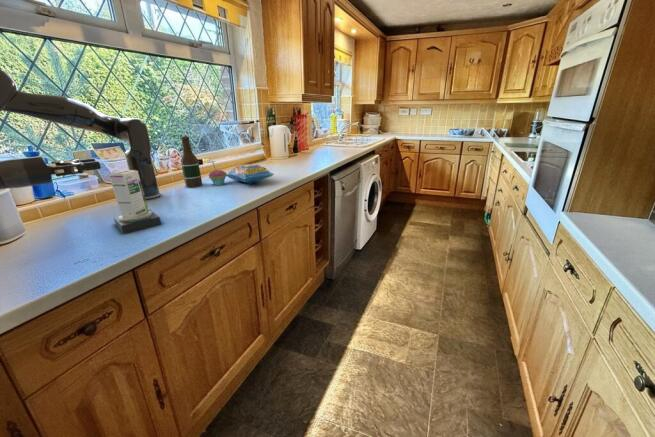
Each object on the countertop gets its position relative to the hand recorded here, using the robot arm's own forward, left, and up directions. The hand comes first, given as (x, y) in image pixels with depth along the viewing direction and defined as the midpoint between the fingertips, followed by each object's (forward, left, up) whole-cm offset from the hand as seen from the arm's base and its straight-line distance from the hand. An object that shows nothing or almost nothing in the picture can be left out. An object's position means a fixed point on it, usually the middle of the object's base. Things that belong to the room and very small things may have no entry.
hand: (97, 163), depth 92 cm
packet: (-23, +63, -21) cm, 70 cm away
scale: (+2, +6, -21) cm, 22 cm away
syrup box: (+1, +6, -18) cm, 19 cm away
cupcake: (-32, +50, -21) cm, 63 cm away
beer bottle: (-39, +40, -21) cm, 60 cm away
